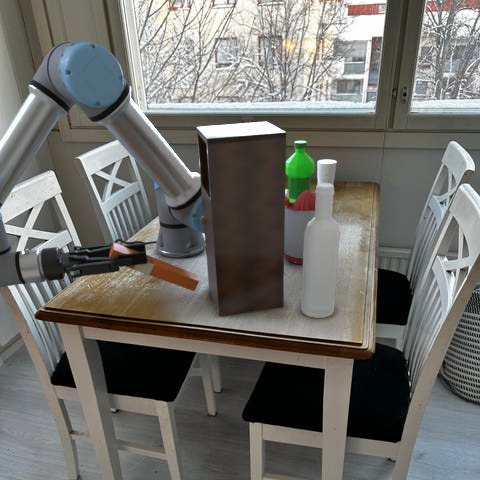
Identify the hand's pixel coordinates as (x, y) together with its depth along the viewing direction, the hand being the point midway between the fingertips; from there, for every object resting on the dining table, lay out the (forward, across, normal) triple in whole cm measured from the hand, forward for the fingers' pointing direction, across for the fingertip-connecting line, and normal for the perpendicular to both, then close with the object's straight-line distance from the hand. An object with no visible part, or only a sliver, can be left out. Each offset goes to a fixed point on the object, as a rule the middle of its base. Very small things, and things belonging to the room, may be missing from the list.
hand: (146, 253), depth 111 cm
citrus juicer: (+45, +15, +13) cm, 50 cm away
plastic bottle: (+57, +52, +13) cm, 78 cm away
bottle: (+38, -16, +13) cm, 43 cm away
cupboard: (+23, -5, +13) cm, 27 cm away
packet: (+1, 0, +5) cm, 5 cm away
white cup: (+79, +82, +13) cm, 115 cm away
